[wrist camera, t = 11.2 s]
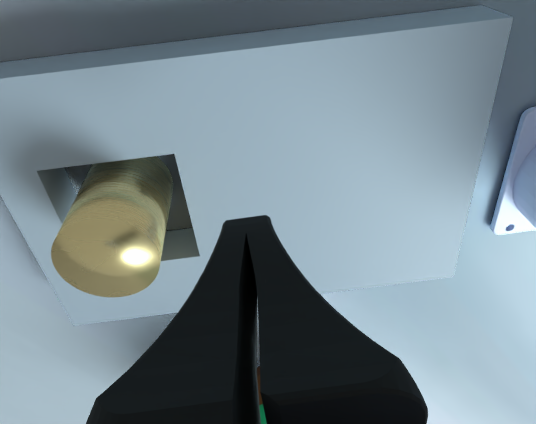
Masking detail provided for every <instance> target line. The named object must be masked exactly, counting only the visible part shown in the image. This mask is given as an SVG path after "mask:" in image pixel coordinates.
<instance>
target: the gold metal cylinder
mask: <svg viewBox="0 0 536 424" xmlns="http://www.w3.org/2000/svg"><path fill="white" fill-rule="evenodd" d="M172 192H173V179H172V176H171V173H170V171H169V169H168V168H167V166H166V165H165V164H164V163H163V162H162V161H161V160H160V159H159V158H158V157H156V156H152V157H144V158H136V159H128V160H120V161H112V162H104V163H96V164H92V166H91V168H90V170H89V172H88V174H87V176H86V178H85V180H84V182H83V184H82V186H81V188H80V190H79V192H78V194H77V196H76V198H75V200H74V202H73V204H72V206H71V208H70V210H69V212H68V214H67V216H66V218H65V220H64V222H63V224H62V226H61V228H60V230H59V232H58V234H57V236H56V238H55V240H54V242H53V244H52V248H51V259H52V263H53V265H54V267H55V269H56V271H57V272H58V274H59V275H60V276H61V277H62V278H63V279H64V280H65V281H66V282H67V283H69V284H70V285H71V286H73V287H75V288H76V289H78V290H81V291H83V292H85V293H88V294H91V295H95V296H101V297H124V296H129V295H133V294H136V293H138V292H140V291H142V290H144V289H145V288H147V287H148V286H149V285H150V284H151V283H152V282H153V281H154V280H155V278H156V276H157V275H158V272H159V268H160V262H161V256H162V250H163V244H164V239H165V233H166V227H167V221H168V216H169V210H170V204H171V198H172Z"/></svg>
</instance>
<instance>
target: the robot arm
mask: <svg viewBox="0 0 536 424" xmlns="http://www.w3.org/2000/svg"><path fill="white" fill-rule="evenodd" d="M508 225H509V226H508ZM507 226H508V227H507ZM490 229H491V230H492V232H493V233H494V234H496V235H502V234H510V233H517V232H525V231H533V230H536V107H531V108H528V109H527V110H525V111H524V112H523V114H522V115H521V117H520V121H519V124H518V128H517V132H516V135H515V139H514V143H513V146H512V150H511V154H510V157H509V161H508V164H507V168H506V172H505V175H504V179H503V183H502V186H501V190H500V194H499V197H498V201H497V204H496V208H495V212H494V215H493V219H492V223H491V226H490ZM257 297H258V317H259V344H260V393H261V398H262V403H263V407H264V412H265V417H266V422H267V424H426V423H427V418H428V408H427V406H426V403H425V401H424V398H423V396H422V394H421V392H420V390H419V389H418V387H417V385H416V383H415V381H414V380H413V378H412V377H411V375H410V373H409V372H408V370H407V369H406V367H405V366H404V364H403V363H402V361H401V360H400V359H399V358H398V357H396V356H395V355H393V354H392V353H390V352H389V351H387V350H386V349H384V348H383V347H381V346H380V345H378V344H377V343H376V342H374V341H373V340H371V339H370V338H369V337H367V336H366V335H365V334H364V333H362V332H361V331H360V330H358V329H357V328H356V327H355V326H353V325H352V324H351V323H350V322H349V321H348V320H347V319H345V318H344V317H343V316H342V315H341V314H340V313H339V312H337V311H336V310H335V309H334V308H333V307H332V306H331V305H330V304H329V303H328V302H327V301H326V300H325V299H324V298H323V297H322V296H321V295H320V294H319V293H318V292H317V291H316V289H315V288H314V287H313V286H312V285H311V284H310V283H309V281H308V280H307V279H306V278H305V277H304V275H303V274H302V273H301V271H300V270H299V269H298V268H297V266H296V265H295V263H294V262H293V261H292V259H291V258H290V256H289V254H288V253H287V251H286V250H285V248H284V247H283V245H282V243H281V242H280V240H279V238H278V236H277V234H276V232H275V230H274V228H273V225H272V223H271V219H270V217H269V216H267V215H261V216H254V217H246V218H239V219H231V220H226V221H225V222H224V223H223V226H222V229H221V232H220V235H219V238H218V240H217V243H216V245H215V248H214V250H213V252H212V254H211V256H210V259H209V261H208V263H207V265H206V267H205V269H204V271H203V273H202V275H201V276H200V278H199V280H198V282H197V283H196V285H195V287H194V289H193V290H192V292H191V294H190V295H189V297H188V298H187V300H186V301H185V303H184V304H183V306H182V307H181V309H180V310H179V312H178V313H177V314H176V316H175V317H174V318H173V320H172V321H171V322H170V324H169V325H168V326H167V328H166V329H165V330H164V331H163V333H162V334H161V335H160V336H159V337H158V339H157V340H156V341H155V342H154V343H153V344H152V345H151V346H150V347H149V349H148V350H147V351H146V352H145V353H144V354H143V355H142V356H141V357H140V358H139V359H138V360H137V361H136V362H135V364H134V365H133V366H132V367H131V368H130V369H129V370H128V371H127V372H126V373H124V374H123V375H122V376H121V377H120V378H119V379H118V380H117V381H115V382H114V383H113V384H112V385H111V386H110V387H109V388H108V389H107V390H105V391H104V392H103V393H102V394H101V395H100V396H98V397H97V398H96V400H95V403H94V405H93V407H92V410H91V412H90V415H89V417H88V420H87V422H86V424H261V418H260V406H259V394H258V382H257Z"/></svg>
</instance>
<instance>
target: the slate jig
mask: <svg viewBox="0 0 536 424" xmlns="http://www.w3.org/2000/svg"><path fill="white" fill-rule="evenodd" d="M512 22H513V17H512V16H509V15H506V14H504V13H501V12H499V11H496V10H493V9H491V8H488V7H486V6H483V5H477V6H469V7H460V8H452V9H443V10H435V11H427V12H418V13H410V14H401V15H393V16H385V17H376V18H368V19H359V20H351V21H343V22H334V23H326V24H317V25H309V26H301V27H292V28H284V29H276V30H267V31H259V32H250V33H242V34H234V35H225V36H217V37H208V38H200V39H192V40H183V41H175V42H166V43H158V44H150V45H141V46H133V47H125V48H116V49H108V50H99V51H91V52H83V53H74V54H66V55H57V56H49V57H41V58H32V59H24V60H15V61H7V62H0V196H1V197H2V199H3V201H4V203H5V204H6V206H7V208H8V210H9V212H10V213H11V215H12V217H13V219H14V221H15V222H16V224H17V226H18V228H19V230H20V231H21V233H22V235H23V237H24V239H25V240H26V242H27V244H28V246H29V248H30V249H31V251H32V253H33V255H34V256H35V258H36V260H37V262H38V264H39V265H40V267H41V269H42V271H43V273H44V274H45V276H46V278H47V280H48V282H49V283H50V285H51V287H52V289H53V291H54V292H55V294H56V296H57V298H58V299H59V301H60V303H61V305H62V307H63V308H64V310H65V312H66V314H67V316H68V317H69V319H70V321H71V323H72V325H73V326H79V325H86V324H94V323H102V322H109V321H117V320H125V319H133V318H140V317H148V316H156V315H163V314H171V313H178V312H179V310H180V309H181V307H182V306H183V304H184V303H185V301H186V300H187V298H188V297H189V295H190V294H191V292H192V290H193V289H194V287H195V285H196V283H197V282H198V280H199V278H200V276H201V275H202V273H203V271H204V269H205V267H206V265H207V263H208V261H209V259H210V256H211V254H212V252H213V250H214V248H215V245H216V243H217V240H218V238H219V235H220V232H221V229H222V226H223V223H224V222H225V221H226V220H231V219H239V218H246V217H254V216H261V215H267V216H269V217H270V219H271V223H272V225H273V228H274V230H275V232H276V234H277V236H278V238H279V240H280V242H281V243H282V245H283V247H284V248H285V250H286V251H287V253H288V254H289V256H290V258H291V259H292V261H293V262H294V263H295V265H296V266H297V268H298V269H299V270H300V271H301V273H302V274H303V275H304V277H305V278H306V279H307V280H308V281H309V283H310V284H311V285H312V286H313V287H314V288H315V289H316V291H317V292H318V293H319V294H325V293H333V292H341V291H349V290H356V289H364V288H372V287H379V286H387V285H395V284H403V283H410V282H418V281H426V280H433V279H441V278H449V277H454V273H455V269H456V265H457V260H458V256H459V252H460V247H461V243H462V239H463V234H464V230H465V226H466V221H467V217H468V213H469V208H470V204H471V200H472V195H473V191H474V187H475V182H476V178H477V174H478V169H479V165H480V161H481V156H482V152H483V148H484V143H485V139H486V134H487V130H488V126H489V121H490V117H491V113H492V108H493V104H494V100H495V95H496V91H497V87H498V82H499V78H500V74H501V69H502V65H503V61H504V56H505V52H506V48H507V43H508V39H509V35H510V30H511V26H512ZM169 154H175V158H176V162H177V166H178V170H179V174H180V178H181V182H182V186H183V190H184V194H185V198H186V202H187V206H188V210H189V214H190V218H191V222H192V226H193V228H188V229H180V230H172V231H166V233H165V239H164V244H163V250H162V256H161V262H160V268H159V272H158V275H157V276H156V278H155V280H154V281H153V282H152V283H151V284H150V285H149V286H148V287H147V288H145V289H144V290H142V291H140V292H138V293H136V294H133V295H129V296H124V297H101V296H95V295H91V294H88V293H85V292H83V291H81V290H78V289H76V288H75V287H73V286H71V285H70V284H69V283H67V282H66V281H65V280H64V279H63V278H62V277H61V276H60V275H59V274H58V272H57V271H56V269H55V267H54V265H53V263H52V259H51V248H52V244H53V242H54V240H55V238H56V236H57V234H58V232H59V230H60V228H61V226H62V224H63V222H64V220H65V218H66V216H67V214H68V212H69V210H70V208H71V206H72V204H73V202H74V200H75V198H76V196H77V195H76V193H75V191H74V188H73V186H72V184H71V181H70V179H69V177H68V174H67V172H66V170H65V167H71V166H80V165H88V164H96V163H104V162H112V161H120V160H128V159H136V158H144V157H152V156H161V155H169ZM257 302H258V297H257Z"/></svg>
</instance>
